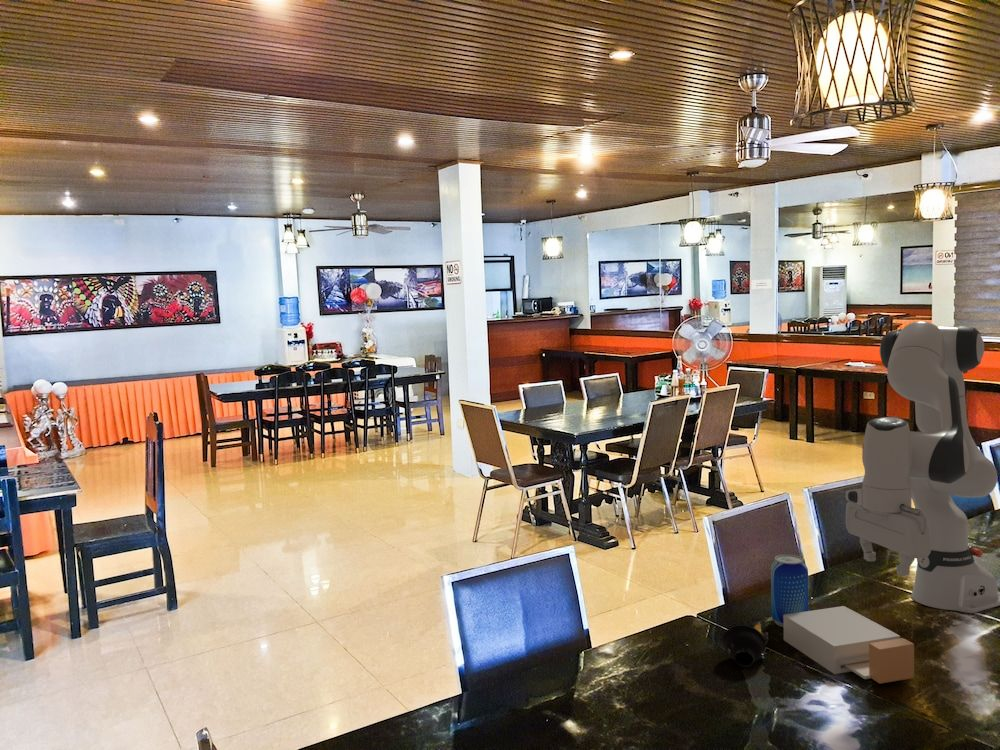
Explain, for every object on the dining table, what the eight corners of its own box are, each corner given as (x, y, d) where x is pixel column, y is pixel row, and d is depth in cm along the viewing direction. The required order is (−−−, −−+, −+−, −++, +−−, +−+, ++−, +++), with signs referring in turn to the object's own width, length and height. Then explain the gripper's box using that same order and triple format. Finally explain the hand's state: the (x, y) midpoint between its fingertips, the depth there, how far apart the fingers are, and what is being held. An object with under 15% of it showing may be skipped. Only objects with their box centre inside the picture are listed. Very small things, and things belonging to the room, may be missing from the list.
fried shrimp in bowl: (715, 649, 165) (715, 594, 181) (737, 687, 168) (735, 630, 184) (757, 638, 161) (753, 583, 177) (779, 678, 164) (773, 620, 180)
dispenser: (844, 630, 182) (843, 605, 182) (903, 665, 164) (903, 637, 164) (783, 640, 179) (783, 614, 178) (837, 676, 160) (837, 648, 160)
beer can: (803, 616, 192) (802, 553, 191) (813, 630, 184) (812, 564, 182) (768, 616, 193) (766, 553, 192) (776, 630, 184) (775, 564, 183)
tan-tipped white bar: (846, 633, 178) (845, 603, 177) (920, 676, 156) (920, 642, 156) (803, 640, 175) (803, 609, 175) (873, 684, 154) (873, 650, 153)
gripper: (940, 510, 146) (939, 582, 147) (866, 488, 166) (865, 551, 167) (911, 512, 145) (910, 585, 145) (840, 490, 164) (839, 554, 165)
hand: (885, 567), depth 156 cm, fingers open, 8 cm apart
